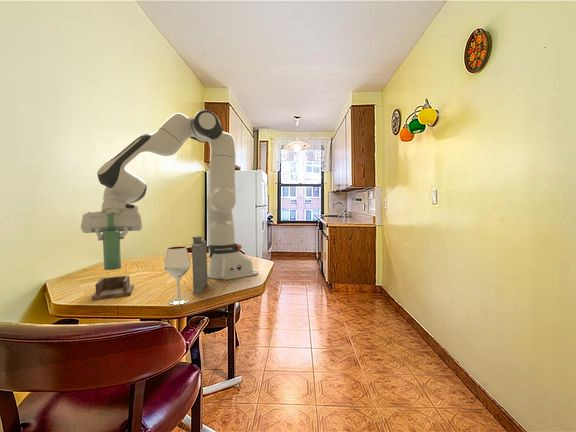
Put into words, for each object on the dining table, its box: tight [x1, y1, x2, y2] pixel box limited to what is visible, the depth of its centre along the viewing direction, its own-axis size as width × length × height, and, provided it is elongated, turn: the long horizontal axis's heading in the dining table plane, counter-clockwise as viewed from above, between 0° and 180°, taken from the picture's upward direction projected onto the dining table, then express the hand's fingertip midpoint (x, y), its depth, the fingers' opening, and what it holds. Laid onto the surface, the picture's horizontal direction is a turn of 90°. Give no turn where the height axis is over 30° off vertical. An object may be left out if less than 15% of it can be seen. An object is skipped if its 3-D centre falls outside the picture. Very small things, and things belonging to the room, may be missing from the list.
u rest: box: [91, 274, 135, 301], centre depth 115 cm, size 12×12×5 cm
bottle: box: [101, 214, 122, 271], centre depth 114 cm, size 6×6×20 cm
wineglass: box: [163, 246, 192, 306], centre depth 102 cm, size 8×8×18 cm
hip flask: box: [191, 236, 209, 295], centre depth 118 cm, size 16×4×20 cm, turn 6°
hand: (111, 238), depth 114 cm, fingers closed on bottle, 5 cm apart
